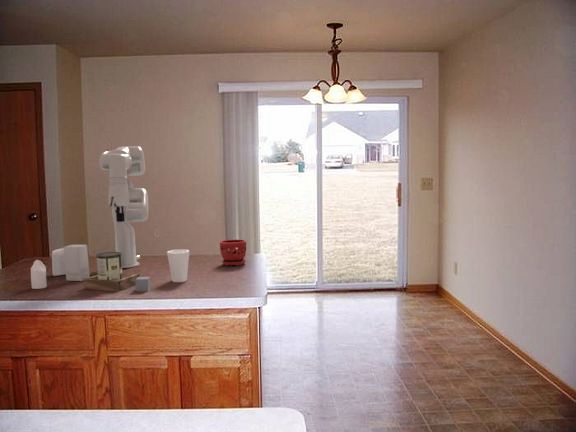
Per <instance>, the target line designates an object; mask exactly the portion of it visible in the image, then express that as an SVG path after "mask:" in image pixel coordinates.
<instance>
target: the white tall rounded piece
mask: <svg viewBox="0 0 576 432" xmlns="http://www.w3.org/2000/svg"><path fill="white" fill-rule="evenodd" d="M30 281H31V282H30V283H31V289H35V290H40V289H45V288H47V286H48V285H47V268H46V265H45V264H43V262H42V261H41V260H39V259H36V260H35V261H33V264H32V266H30Z"/></svg>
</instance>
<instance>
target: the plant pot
mask: <svg viewBox="0 0 576 432" xmlns="http://www.w3.org/2000/svg"><path fill="white" fill-rule="evenodd" d="M219 250H220V255H221V257H222V259H223V260H222V261H221V262H222V264H223V265H224V266H229V265H231V266H232V265H236V266H241V265H244V264H245V263H246V259H245V257H246V254H247V253H246V252H247V240H245V239H225V240H221V241H219ZM232 267H233V266H232Z"/></svg>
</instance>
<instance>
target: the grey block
mask: <svg viewBox="0 0 576 432" xmlns="http://www.w3.org/2000/svg"><path fill="white" fill-rule="evenodd" d="M135 280H136V285H135V291H136V292H149V291H150V290H151V288H152V283H151V281H152V280H151V276H140V277H138V278H136V279H135Z"/></svg>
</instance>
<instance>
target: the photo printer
mask: <svg viewBox="0 0 576 432" xmlns="http://www.w3.org/2000/svg"><path fill="white" fill-rule="evenodd" d="M51 264H52V265H51V267H52V276H53V277H56V276H57V277H58V276H66V269H65V259H64V249H63V248H62V247H61V248H58V249H57V248H56V249H55V250H52V252H51Z"/></svg>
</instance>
